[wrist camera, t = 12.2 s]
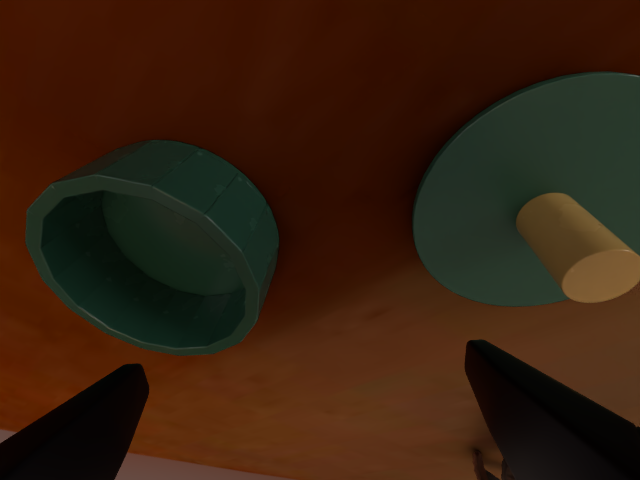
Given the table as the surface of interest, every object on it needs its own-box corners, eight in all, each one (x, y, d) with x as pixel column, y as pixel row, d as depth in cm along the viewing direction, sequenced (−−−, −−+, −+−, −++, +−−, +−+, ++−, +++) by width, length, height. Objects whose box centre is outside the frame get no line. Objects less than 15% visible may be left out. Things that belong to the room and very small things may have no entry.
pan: (288, 162, 16) (265, 207, 13) (272, 311, 23) (253, 371, 19) (71, 119, 16) (-20, 151, 13) (117, 280, 23) (67, 334, 19)
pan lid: (772, 101, 13) (1000, 148, 8) (577, 310, 20) (641, 397, 15) (468, 41, 13) (527, 54, 8) (383, 272, 20) (389, 347, 15)
